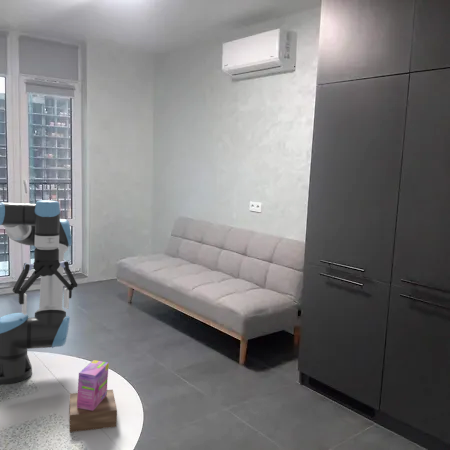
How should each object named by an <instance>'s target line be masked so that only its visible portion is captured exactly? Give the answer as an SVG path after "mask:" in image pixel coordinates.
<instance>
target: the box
mask: <svg viewBox="0 0 450 450" xmlns="http://www.w3.org/2000/svg"><path fill="white" fill-rule="evenodd" d="M109 365H110V363H109V362H107V361H102V360H94V359H93V360H92V361H90V362H89V363H88V364H87V365H86V366H85V367H84V368H83V369H82V370H80V371H79V372H78V382H77V383H78V384H77V393H78V396H77V408H79V409H84V410H90V411H93V410H94V409H95V408H96V407H97V406H98V405H99V404H100V402H101V401H102V400H103V399H104V398H105V397H106V396H107V390H108V377H109Z"/></svg>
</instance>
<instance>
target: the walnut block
mask: <svg viewBox="0 0 450 450" xmlns="http://www.w3.org/2000/svg"><path fill="white" fill-rule="evenodd" d="M77 396H78V392H73V393H71V392H70V393H69V408H68V410H69V414H68V415H69V433H76V432H83V431H91V430H101V429H106V428H107V429H108V428H117V422H118V421H117V420H118V419H117V418H118V417H117V415H118V409H117V403H116V399H115V393H114V390H113V389H107V396H106V397H105V398H104V399H103V400H102V401H101V402H100V404H99V405H98V406H97V407H96V408H95V409H94V410H93V411H90V410H84V409H79V408H77Z"/></svg>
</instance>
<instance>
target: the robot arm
mask: <svg viewBox="0 0 450 450" xmlns="http://www.w3.org/2000/svg"><path fill="white" fill-rule="evenodd" d="M60 205H61V204H60V202H59V201H57V200H48V199H47V200H45V199H44V200H37V201H36V202H35V203H18V202H17V203H16V202H3V201H1V202H0V226H3V227H4V230H5V233H6V236H7V237H8V238H9V239H11V240H12V241H14V242H16V243H19V244H22V245H25V246H32V247H33V246H34V257H33V259H34V261H33V262H32V263H27V262H25V263H23V266H22V271H21V273H20V275H19V277H18V278H17V280H16V282H15V284H14V286H13V288H12V292H13V293H14V294H15V295H16V294H17V295H18V304H19V305H21V312H14V313H9V314H5V315H3V316H1V317H0V385H8V384H15V383H19V382H22V381H25V380H27V379H29V378H30V377H31V376H32V374H33V367H32V364H31V360H30V358H29V355H28V349H29V350H31V349H43V348H44V349H46V348H52V349H53V348H59V347H60V348H61V347H63V346H65V344H66V342H67V337H68V332H69V326H70V320H71V319H70V318H71V317H70V315H67V311H66V310H69V307H70V303H69V302H70V301H69V300H70V299H72V297H73V296H72V293H73V290H74V288H77V287H78V286H79V285H78V283H77V280H76V279H75V277H74V275H73V273H72V271H71V269H70V267H69V266H70V265H69V264H70V263H69V261H67V260H65V253H67V251H68V249H69V247H72V244H73V243H72V232H71V226H70V225H71V224H70V221H69V220H68V219H65V218H61V215H62V214H61V206H60ZM32 269H34V271H33V273H31V275H30V277H29V278H28V279H27V280H26V278H27V276H28V275H29V271H31V270H32ZM64 273H65V274H66V276H67V279H68V280H69V282H70V283H69V282H68V280H66V278H65V277H64ZM39 278H40V284H39V285H40V287H39V303H38V304H39V305H38V307H39V308H38V309H37V310H36V311H35V312H34V317H29V314H28V313H27V311H28V310H27V308H28V305H27V304H28V303H27V301H28V294H26V293H27V291H28V290H29V289H30V288H31V286H32V285H33V284H34V283H35V282H36V281H37V279H39ZM64 286H65V288H64ZM65 309H66V310H65Z"/></svg>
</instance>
